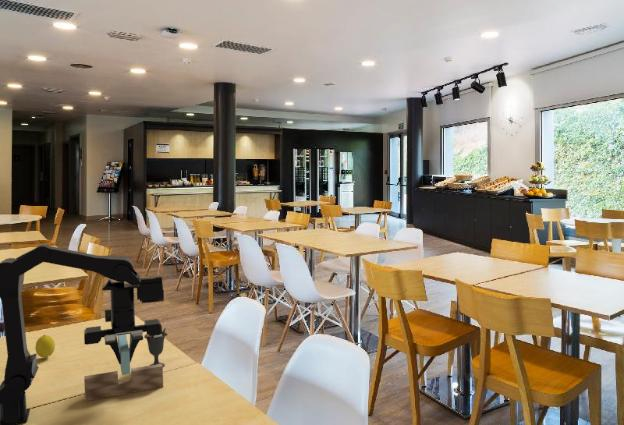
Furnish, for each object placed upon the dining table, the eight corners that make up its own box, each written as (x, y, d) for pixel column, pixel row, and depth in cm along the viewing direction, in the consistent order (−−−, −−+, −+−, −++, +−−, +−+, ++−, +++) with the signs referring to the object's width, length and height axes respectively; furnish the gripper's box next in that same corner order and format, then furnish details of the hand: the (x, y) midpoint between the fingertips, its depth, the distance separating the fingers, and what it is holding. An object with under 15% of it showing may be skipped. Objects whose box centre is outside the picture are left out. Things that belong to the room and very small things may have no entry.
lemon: (47, 362, 153) (45, 338, 153) (32, 361, 154) (30, 337, 154) (59, 355, 159) (58, 332, 158) (44, 354, 160) (43, 331, 159)
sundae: (140, 368, 149) (138, 321, 147) (156, 360, 155) (155, 315, 153) (156, 372, 146) (154, 324, 144) (172, 364, 152) (170, 318, 150)
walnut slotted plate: (162, 383, 138) (161, 363, 137) (163, 386, 136) (162, 366, 136) (85, 397, 130) (84, 376, 129) (85, 400, 128) (84, 379, 127)
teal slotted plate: (130, 373, 124) (129, 351, 123) (121, 375, 123) (121, 352, 122) (125, 348, 142) (124, 328, 141) (118, 349, 141) (117, 329, 140)
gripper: (156, 293, 137) (157, 347, 138) (83, 301, 129) (86, 357, 130) (161, 303, 127) (163, 361, 128) (83, 312, 119) (85, 373, 120)
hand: (124, 362), depth 127 cm, fingers closed on teal slotted plate, 2 cm apart
